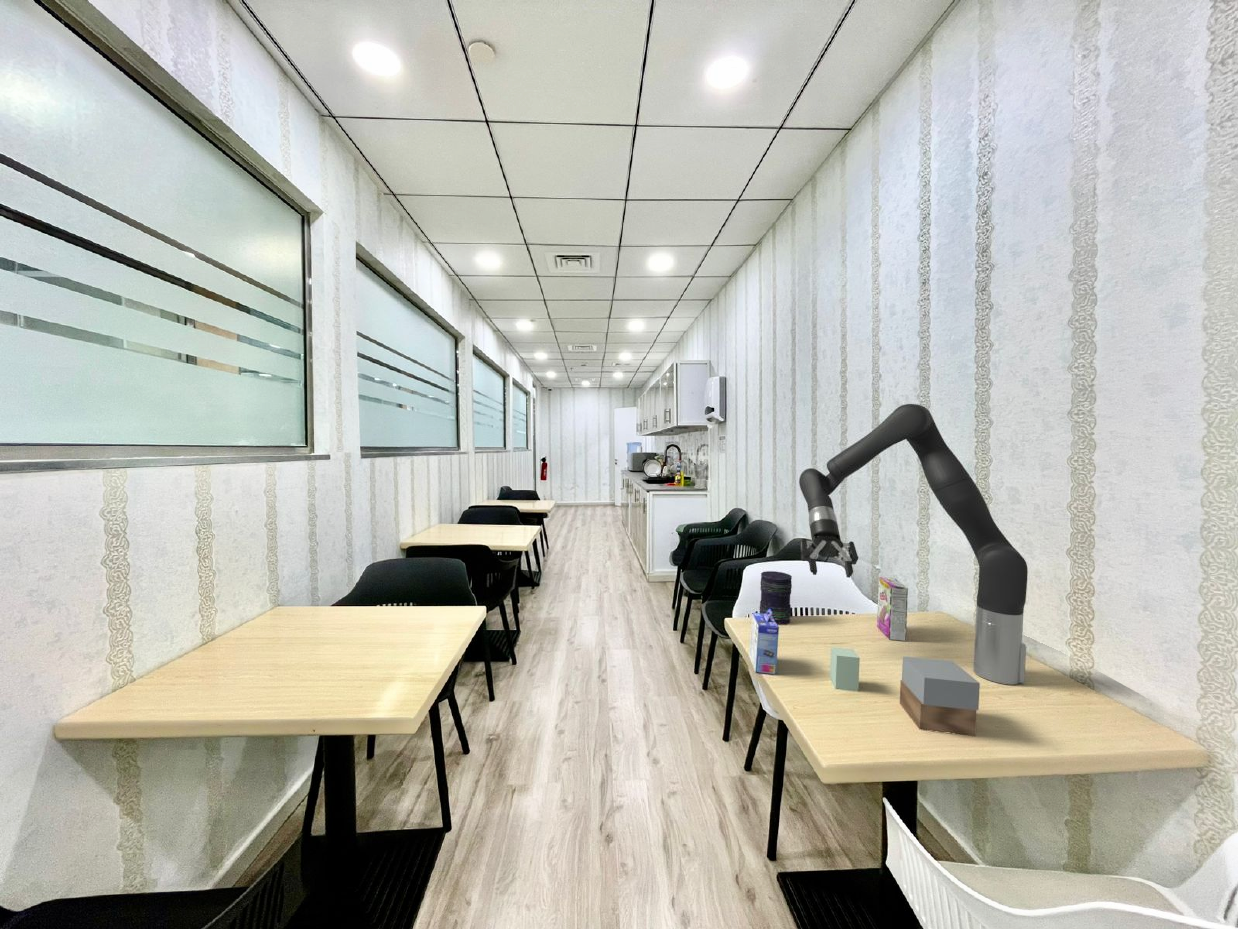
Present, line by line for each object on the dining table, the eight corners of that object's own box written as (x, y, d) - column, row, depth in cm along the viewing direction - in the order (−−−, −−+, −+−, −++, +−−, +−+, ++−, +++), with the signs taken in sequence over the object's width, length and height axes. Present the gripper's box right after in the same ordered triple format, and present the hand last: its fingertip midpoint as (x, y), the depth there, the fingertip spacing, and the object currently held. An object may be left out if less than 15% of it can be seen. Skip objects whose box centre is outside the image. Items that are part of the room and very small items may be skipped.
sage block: (851, 681, 114) (853, 649, 114) (858, 691, 109) (859, 657, 109) (829, 678, 115) (831, 646, 114) (835, 689, 110) (836, 655, 110)
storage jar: (764, 612, 162) (766, 569, 161) (794, 618, 156) (795, 574, 156) (754, 620, 154) (756, 575, 153) (785, 627, 148) (787, 581, 148)
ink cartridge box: (778, 675, 116) (780, 617, 115) (755, 673, 116) (757, 616, 116) (769, 658, 126) (771, 604, 125) (748, 656, 126) (750, 603, 126)
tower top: (951, 685, 102) (952, 660, 102) (978, 710, 92) (979, 683, 92) (901, 680, 104) (902, 656, 103) (923, 704, 94) (924, 677, 94)
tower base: (949, 710, 102) (950, 685, 102) (975, 737, 92) (976, 710, 92) (899, 704, 104) (900, 680, 104) (919, 730, 94) (920, 704, 94)
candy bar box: (875, 626, 151) (877, 576, 150) (892, 628, 150) (894, 577, 149) (888, 640, 140) (890, 586, 139) (906, 642, 139) (909, 587, 138)
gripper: (800, 516, 134) (806, 565, 123) (853, 519, 131) (864, 569, 121) (795, 531, 139) (801, 579, 129) (846, 534, 137) (857, 584, 126)
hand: (832, 574), depth 125 cm, fingers open, 8 cm apart
